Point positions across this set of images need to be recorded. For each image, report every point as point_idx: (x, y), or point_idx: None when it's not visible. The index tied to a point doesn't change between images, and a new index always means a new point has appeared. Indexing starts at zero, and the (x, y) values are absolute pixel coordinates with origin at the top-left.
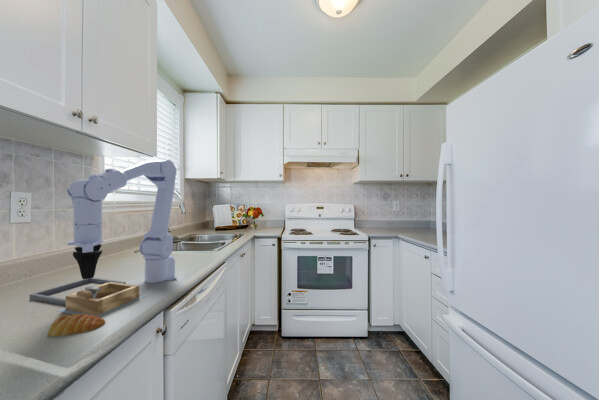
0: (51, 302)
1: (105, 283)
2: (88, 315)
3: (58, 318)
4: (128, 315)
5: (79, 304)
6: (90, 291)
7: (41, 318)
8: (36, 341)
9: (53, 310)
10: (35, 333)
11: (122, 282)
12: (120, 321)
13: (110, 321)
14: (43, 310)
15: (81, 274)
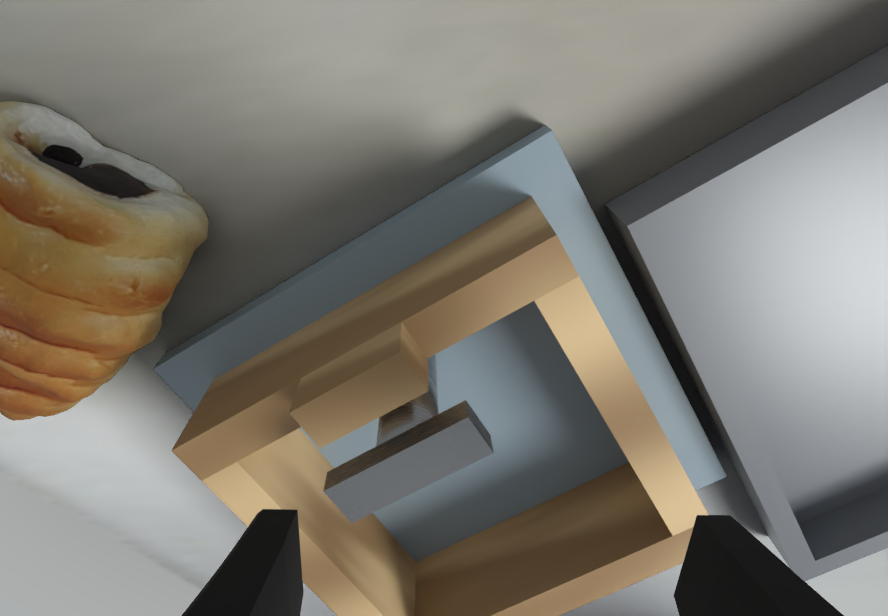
0: (847, 84)
1: (703, 513)
2: (37, 362)
3: (27, 185)
4: (177, 503)
5: (378, 310)
6: (388, 436)
7: (543, 26)
8: (34, 31)
9: (683, 102)
10: (207, 10)
11: (807, 566)
12: (100, 463)
13: (136, 421)
14: (759, 26)
15: (225, 560)
